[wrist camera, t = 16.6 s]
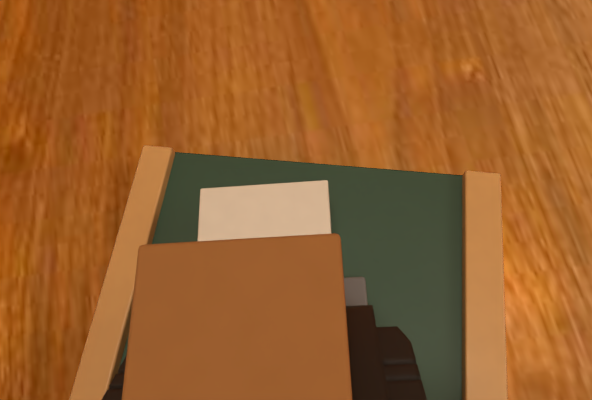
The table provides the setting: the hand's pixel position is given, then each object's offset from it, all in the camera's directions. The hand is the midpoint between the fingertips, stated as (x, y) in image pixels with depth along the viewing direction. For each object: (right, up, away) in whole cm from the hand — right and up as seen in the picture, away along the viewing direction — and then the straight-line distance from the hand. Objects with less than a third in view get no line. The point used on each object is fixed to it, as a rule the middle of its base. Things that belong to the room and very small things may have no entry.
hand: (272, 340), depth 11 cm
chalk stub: (0, +2, +5) cm, 5 cm away
